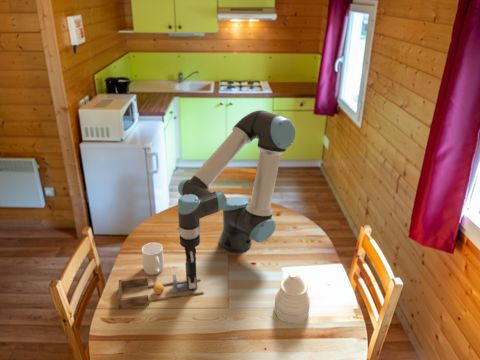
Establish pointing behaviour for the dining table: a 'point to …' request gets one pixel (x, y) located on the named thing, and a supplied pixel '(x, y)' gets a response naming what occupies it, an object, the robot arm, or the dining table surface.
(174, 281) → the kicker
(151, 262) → the mug
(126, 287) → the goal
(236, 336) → the dining table surface
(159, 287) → the ball
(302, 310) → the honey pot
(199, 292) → the lane
